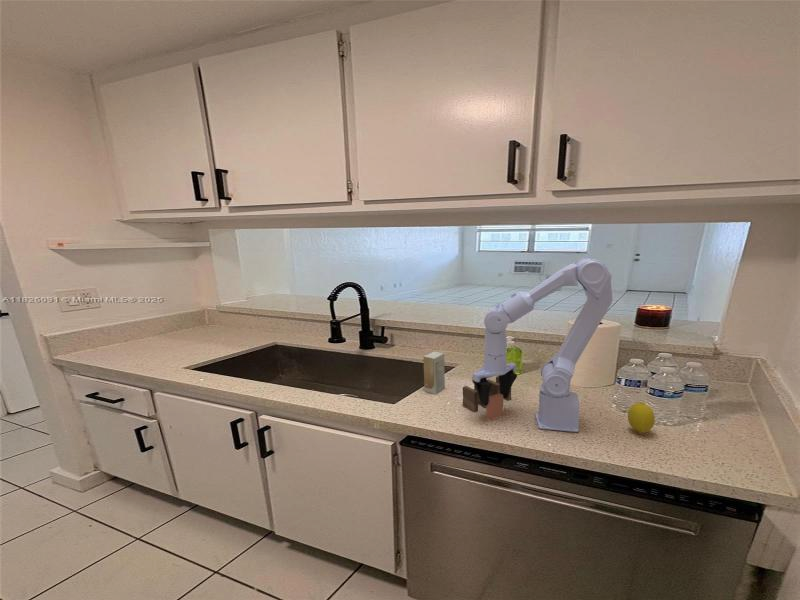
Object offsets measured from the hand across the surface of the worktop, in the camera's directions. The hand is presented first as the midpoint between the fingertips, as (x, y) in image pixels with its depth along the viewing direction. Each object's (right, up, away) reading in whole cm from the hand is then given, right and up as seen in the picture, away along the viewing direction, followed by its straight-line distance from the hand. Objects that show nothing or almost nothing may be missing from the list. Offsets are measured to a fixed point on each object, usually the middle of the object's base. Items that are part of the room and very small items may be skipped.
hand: (494, 400), depth 100 cm
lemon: (+34, -6, -10) cm, 35 cm away
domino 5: (+6, -3, +13) cm, 14 cm away
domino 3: (+2, -3, +10) cm, 11 cm away
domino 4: (0, -5, +1) cm, 5 cm away
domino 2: (-2, -4, +8) cm, 9 cm away
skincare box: (-15, -2, +20) cm, 25 cm away
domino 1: (-6, -4, +6) cm, 9 cm away
